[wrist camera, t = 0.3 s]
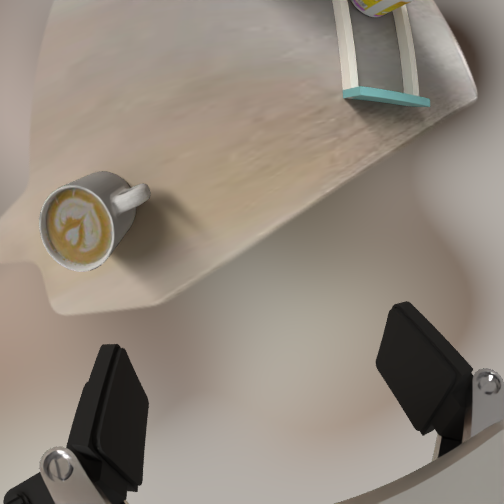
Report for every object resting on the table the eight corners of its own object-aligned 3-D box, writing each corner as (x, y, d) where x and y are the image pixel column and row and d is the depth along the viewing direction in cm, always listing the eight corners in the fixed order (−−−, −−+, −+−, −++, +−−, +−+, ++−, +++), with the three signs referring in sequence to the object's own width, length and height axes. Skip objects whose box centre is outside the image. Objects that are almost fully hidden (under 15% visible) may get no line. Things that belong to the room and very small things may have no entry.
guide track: (325, -34, 24) (337, -48, 20) (391, -16, 26) (407, -25, 21) (343, 98, 34) (360, 95, 30) (410, 106, 36) (430, 106, 31)
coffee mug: (83, 245, 37) (54, 277, 28) (66, 181, 33) (29, 197, 24) (166, 229, 38) (154, 260, 29) (152, 158, 34) (134, 166, 25)
